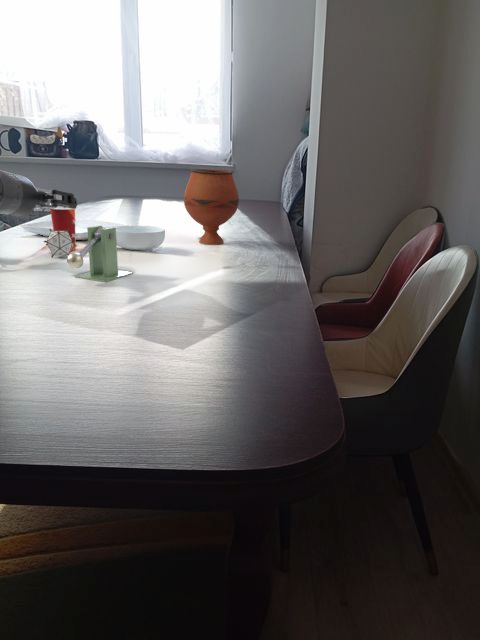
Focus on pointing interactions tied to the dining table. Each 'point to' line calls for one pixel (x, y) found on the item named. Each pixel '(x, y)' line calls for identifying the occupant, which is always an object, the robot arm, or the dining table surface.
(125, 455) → the dining table surface
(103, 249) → the bracket
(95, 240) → the lever
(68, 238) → the game die
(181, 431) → the dining table surface
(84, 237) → the square plate
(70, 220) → the paper cup
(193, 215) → the goblet
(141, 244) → the cereal bowl
